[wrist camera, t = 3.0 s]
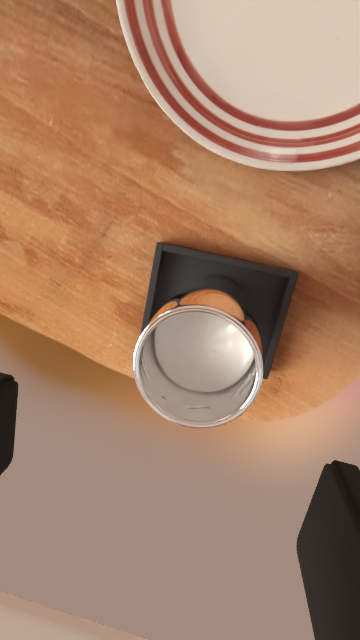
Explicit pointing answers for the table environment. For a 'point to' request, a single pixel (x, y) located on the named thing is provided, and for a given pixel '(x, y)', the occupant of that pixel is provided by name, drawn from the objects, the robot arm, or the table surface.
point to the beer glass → (201, 356)
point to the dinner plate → (254, 76)
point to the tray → (253, 278)
